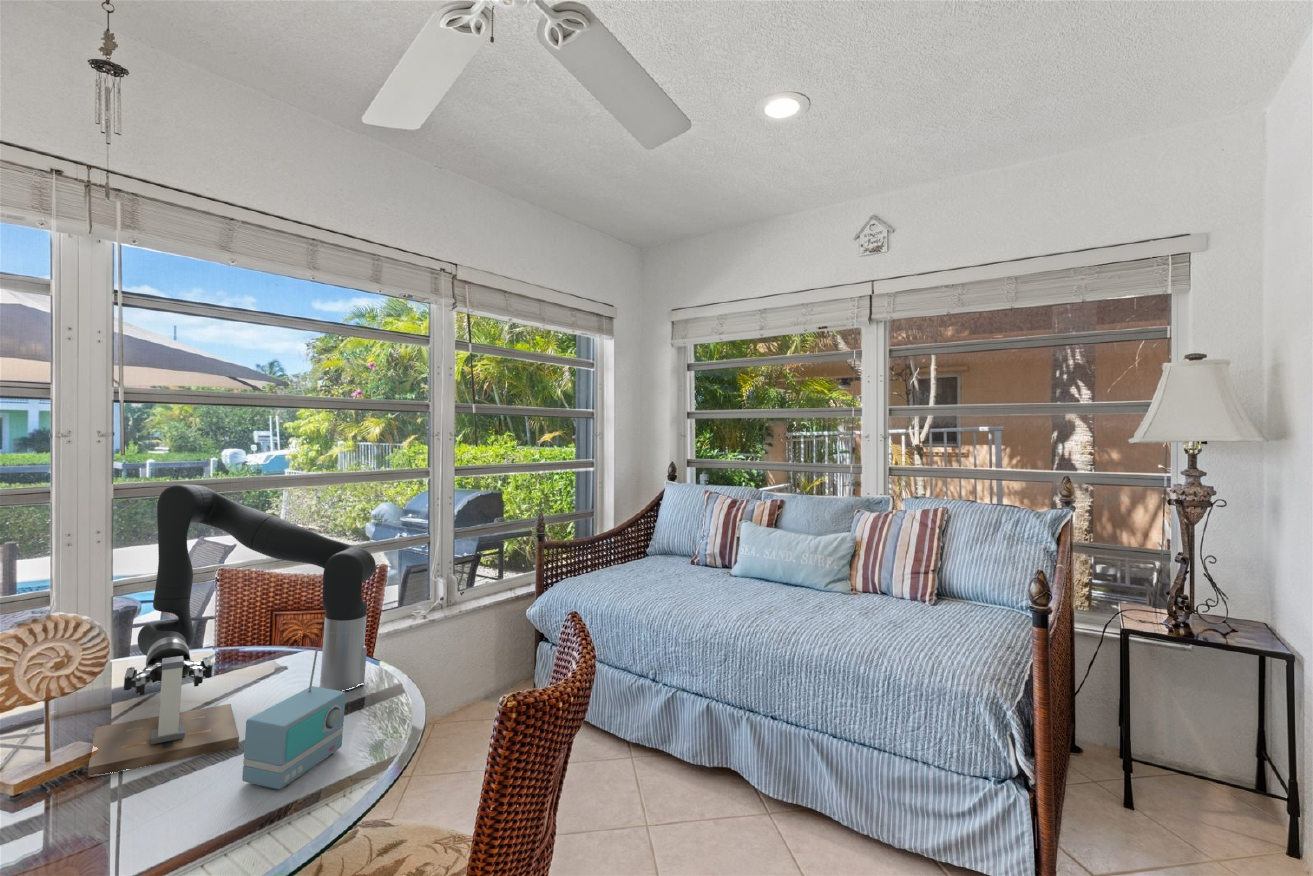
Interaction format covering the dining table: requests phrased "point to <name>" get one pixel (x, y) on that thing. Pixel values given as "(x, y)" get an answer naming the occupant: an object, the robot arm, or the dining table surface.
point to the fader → (169, 702)
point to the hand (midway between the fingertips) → (170, 685)
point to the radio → (293, 736)
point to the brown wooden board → (134, 748)
